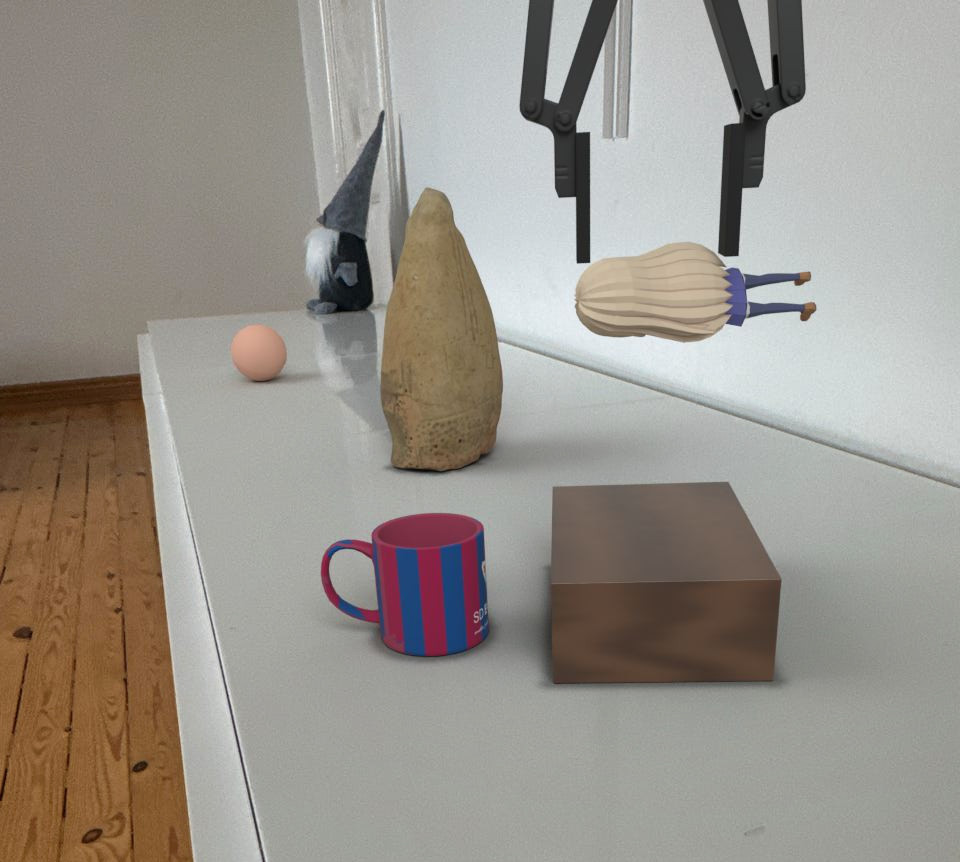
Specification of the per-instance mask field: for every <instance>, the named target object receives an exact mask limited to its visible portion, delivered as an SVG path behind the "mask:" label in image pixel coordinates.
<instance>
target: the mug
mask: <svg viewBox="0 0 960 862" xmlns="http://www.w3.org/2000/svg"><path fill="white" fill-rule="evenodd" d="M485 542H486V541H485V528H484V525H483V523H482V522H481V521H479V520H478V519H476V518H474V517H472V516H468V515H465V514H459V513H451V512H427V513H426V512H424V513H416V514H415V513H414V514H410V515H403V516H399V517H395V518H393V519H390V520H387V521H384V522H382V523H381V524H379V525H378V526H376V527H375V528H374V529H373V530H372V532H371V542H368V541H365V540H359V539H340V540H338V541H335V542H333V543H332V544H330V545H329V547H328V548H327V549H326V550H325V551H324V554H323V556H322V558H321V563H320V579H321V585H322V589H323V591H324V594H325V595H326V597H327V599H328V601H329V602H330V603H331V604H332V605H333V606H334V607H335V608H336V609H337V610H338V611H340V612H341V613H342V614H345V615H347V616H349V617H351V618H353V619H356V620H359V621H363V622H366V623H372V624H378V625H379V629H380V635H381V639H382V642H383V643H384V644H385V645H386V646H387V647H388V648H390V649H391V650H393V651H396V652H398V653H401V654H404V655H409V656H416V657H438V656H439V657H440V656H447V655H452V654H456V653H462V652H464V651H466V650H469V649H472V648H473V647H476V646H477V645H479V644H480V643H482V642H483V641H484V640H485V639H486V638H487V636H488V634H489V631H490V623H489V608H488V607H489V605H488V602H489V601H488V582H487V565H486V545H485ZM341 550H342V551H343V550H353V551H355V552H359V553H361V554H362V555H364V556H365V557H367V558H369V559H370V560H371V562H372V565H373V571H374V572H373V573H374V581H375V591H376V600H377V602H376V603H377V609H367V608H362V607H358V606H355V605H354V604H352V603H350V602H348V601H346V600H345V599H343V598H342V597H341V595H339V593H338V592H337V591H336V589H335V587H334V585H333V582H332V579H331V575H330V566H331V565H330V564H331V560H332V558H333V556H334V555H335V554H336V553H337V552H339V551H341Z"/></svg>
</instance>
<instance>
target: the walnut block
mask: <svg viewBox="0 0 960 862" xmlns="http://www.w3.org/2000/svg"><path fill="white" fill-rule="evenodd" d="M551 492H552V497H551V498H552V499H551V501H552V502H551V549H550V550H551V551H550V552H551V555H550V605H551V606H550V607H551V608H550V609H551V610H550V611H551V653H552V654H551V655H552V656H551V657H552V683H553V684H592V683H593V684H597V683H598V684H599V683H600V684H601V683H603V684H604V683H674V682H675V683H682V682H683V683H685V682H689V683H690V682H695V683H696V682H769V681H774V675H775V665H776V664H775V663H776V652H777V640H778V639H777V638H778V627H779V618H780V617H779V616H780V605H781V603H780V602H781V591H782V577H781V575H780V573H779V571H778V570H777V568H776V566H775V564H774V562H773V561H772V558H771V557H770V555H769V553H768V551H767V550H766V547H765V546H764V544H763V542H762V540H761V538H760V536H759V535H758V533H757V531H756V530H755V527H754V526H753V524H752V522H751V520H750V518H749V517H748V515H747V513H746V511H745V509H744V508H743V506H742V504H741V502H740V500H739V498H738V497H737V494H736V493H735V491H734V489H733V487H732V485H731V484H730V482H729V481H706V482H705V481H701V482H699V481H698V482H697V481H695V482H667V483H665V482H664V483H631V484H629V483H628V484H596V485H595V484H594V485H593V484H592V485H559V486H552V491H551Z"/></svg>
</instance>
